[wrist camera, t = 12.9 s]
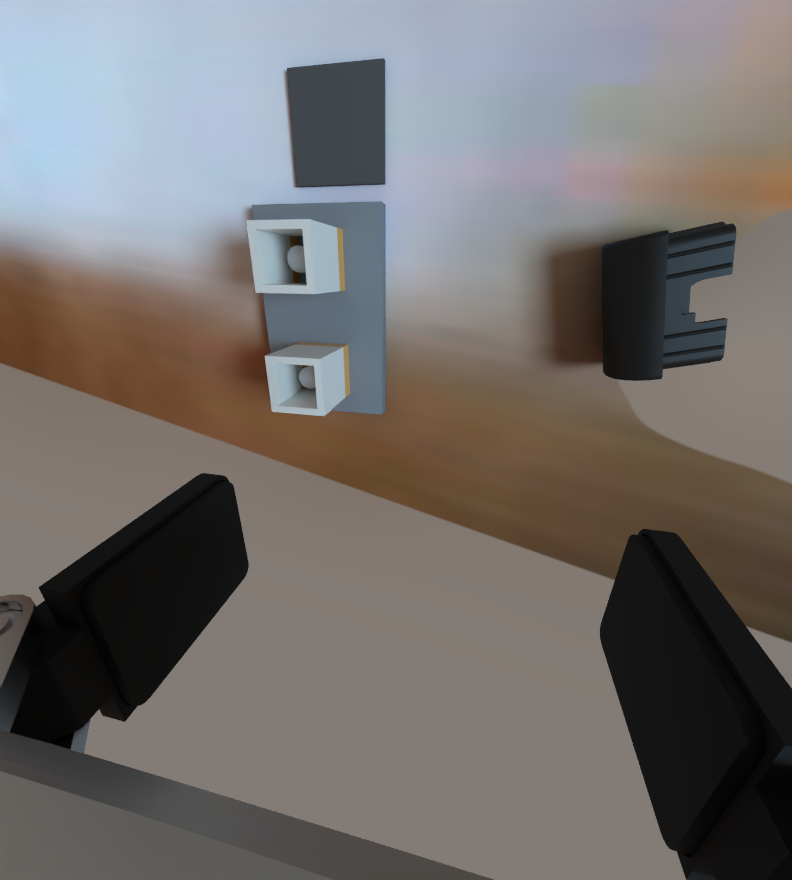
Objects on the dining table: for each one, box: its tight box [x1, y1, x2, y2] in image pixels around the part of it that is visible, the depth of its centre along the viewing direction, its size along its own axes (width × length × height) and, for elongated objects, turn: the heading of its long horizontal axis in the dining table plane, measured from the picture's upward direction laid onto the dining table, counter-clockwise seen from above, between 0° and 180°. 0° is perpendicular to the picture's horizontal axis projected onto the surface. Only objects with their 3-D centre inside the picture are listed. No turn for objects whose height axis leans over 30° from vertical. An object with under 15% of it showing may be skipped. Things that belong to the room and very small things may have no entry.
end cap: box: [602, 222, 736, 381], centre depth 29 cm, size 10×7×7 cm
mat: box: [287, 58, 385, 187], centre depth 31 cm, size 8×8×1 cm
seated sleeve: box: [246, 219, 345, 294], centre depth 31 cm, size 5×5×7 cm
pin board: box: [252, 202, 386, 414], centre depth 35 cm, size 19×12×6 cm, turn 0°
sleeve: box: [265, 342, 350, 416], centre depth 35 cm, size 5×5×7 cm
